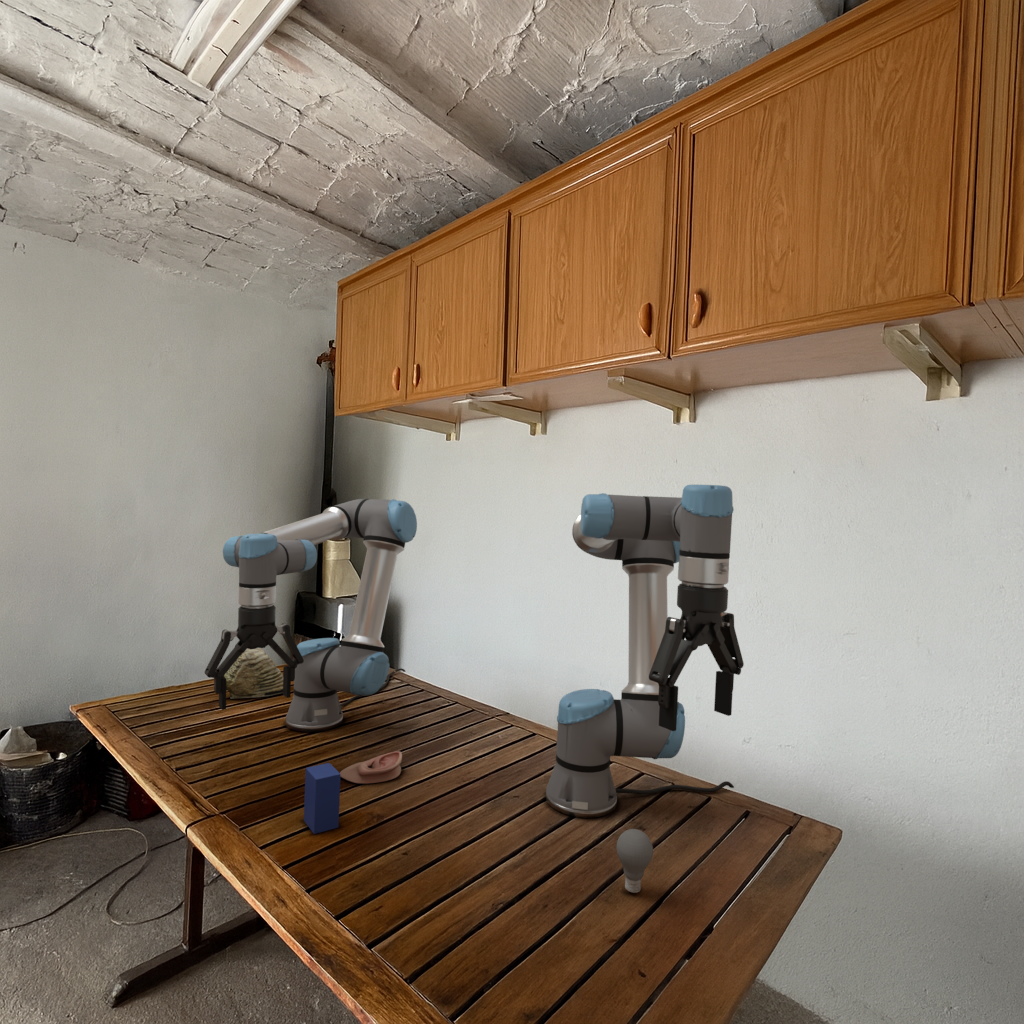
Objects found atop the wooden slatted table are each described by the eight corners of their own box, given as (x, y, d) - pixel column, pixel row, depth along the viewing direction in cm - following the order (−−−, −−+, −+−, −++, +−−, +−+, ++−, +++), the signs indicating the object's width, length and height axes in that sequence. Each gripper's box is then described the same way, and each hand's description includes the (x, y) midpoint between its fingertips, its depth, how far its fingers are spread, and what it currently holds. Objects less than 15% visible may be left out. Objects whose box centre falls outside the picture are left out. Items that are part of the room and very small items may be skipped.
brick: (314, 834, 119) (316, 779, 119) (303, 820, 124) (305, 767, 124) (338, 827, 122) (340, 773, 122) (327, 814, 127) (329, 762, 126)
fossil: (218, 695, 195) (220, 647, 195) (278, 685, 208) (279, 640, 207) (228, 703, 189) (230, 653, 188) (289, 692, 201) (290, 645, 201)
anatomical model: (332, 762, 141) (355, 743, 152) (332, 780, 141) (355, 759, 153) (388, 770, 139) (407, 750, 150) (388, 788, 139) (407, 766, 150)
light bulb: (610, 879, 108) (613, 822, 108) (644, 879, 109) (647, 822, 109) (619, 902, 102) (622, 840, 102) (655, 901, 103) (658, 840, 103)
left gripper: (198, 614, 127) (197, 718, 127) (319, 602, 142) (317, 696, 143) (190, 607, 132) (188, 707, 133) (307, 597, 148) (305, 687, 149)
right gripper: (669, 591, 88) (661, 743, 88) (770, 584, 103) (763, 714, 103) (629, 584, 94) (622, 726, 94) (730, 578, 109) (723, 701, 109)
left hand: (255, 701), depth 138 cm, fingers open, 13 cm apart
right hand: (696, 720), depth 99 cm, fingers open, 13 cm apart
